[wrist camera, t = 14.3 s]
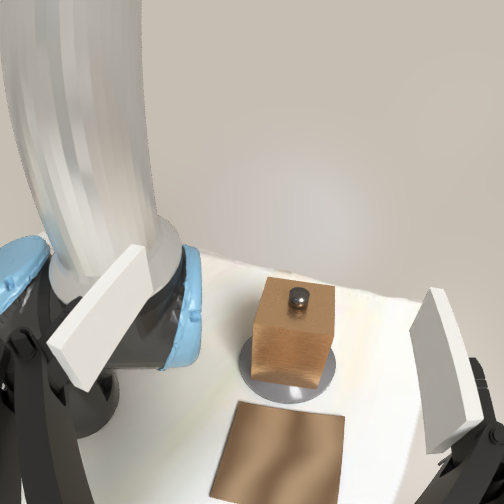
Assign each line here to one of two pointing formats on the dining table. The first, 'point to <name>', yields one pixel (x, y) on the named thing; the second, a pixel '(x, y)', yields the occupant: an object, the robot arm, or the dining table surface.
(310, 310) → the wooden cube with knob
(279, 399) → the plate
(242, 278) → the dining table surface
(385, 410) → the dining table surface
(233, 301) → the dining table surface
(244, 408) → the board
